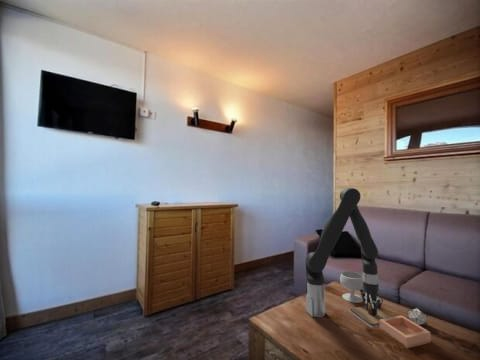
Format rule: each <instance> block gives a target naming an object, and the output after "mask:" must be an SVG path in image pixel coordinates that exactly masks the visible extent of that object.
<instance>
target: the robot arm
mask: <svg viewBox="0 0 480 360" xmlns="http://www.w3.org/2000/svg"><path fill="white" fill-rule="evenodd" d="M339 199H340V202H339V205H338V207H337V209H336V210H335V211H334V212H333V213H332V215H331V216H330V217H329V218H328V220H327V221H326V223H325V224H324V226H323V229H322V231H321V235H320V239H319V243H318V246H317V248H316V250H315V251H312V252H309V253H308V254H307V255H306V257H305V273H306V282H307V283H306V287H307V288H306V289H307V294H305V299H306V300H305V302H306V303H305V304H306V312H307V313H308V314H309V316H311V317H312V318H313V317H314V318H323V317H325V315H326V301H325V300H326V297H325V296H326V295H325V277H324V272H323V271H324V269H325V268H326V265H327V263H328V260H329V258H330V255H331V254H332V251H333V249H334V248H335V245H336V243H337V242H338V240H339V238H340V236H341V235H342V233H343V230H344V228H345V227H346V225H347V222H348V220H349V219H350V221H351V224H352V226H353V229H354V232H355V235H356V238H357V240H358V241H359V243H360V254H361V261H362V277H363V288H362V289H360V290H359V292H360V295H361V296H360V297H362V299H363V302H364V303H365V306H366V309H367V311H368V301H370V302H371V303H372V314H373V315H376V314H377V309H381V308H382V304H383V302H384V300H383V299H382V298H380V297H379V293H378V292H379V291H380V289H379V275H378V274H379V273H378V264H377V262H376V258H377V257H378V256H379V250H378V248H377V246H376V243H375V242H374V239H373V238H372V234H371V231H370V228H369V226H368V224H367V222H366V220H365V219H364V216H362V215H363V214H362V213H361V212H360V211H361V210H360V209H359V207H358V204H359V202H360V200H361V193H360V191H359V190H358V189H357V188H353V187H349V188H344V189H342V190H341V191H340V193H339ZM374 304H375V305H374Z"/></svg>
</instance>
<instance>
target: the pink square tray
mask: <svg viewBox="0 0 480 360" xmlns="http://www.w3.org/2000/svg"><path fill="white" fill-rule="evenodd" d="M379 324H380V326H379V330H381V331H383V332H384V333H386V334H387V335H388V336H390V337H391V338H392V339H394V340H396V341H397V343H399V344H401V345H402V346H403V347H404V348H406V349H410V348H414V347H418V346H422V345H425V344H429V343H432V337H431V336H432V334H431V331H429V330H428V329H426V328H424V327H423V326H421V325H417V324H416V323H414V322H412V321H411V320H410V319H409V318H407V317H406V316H404V315H396V316H390V318H385V319H380V320H379Z"/></svg>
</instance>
